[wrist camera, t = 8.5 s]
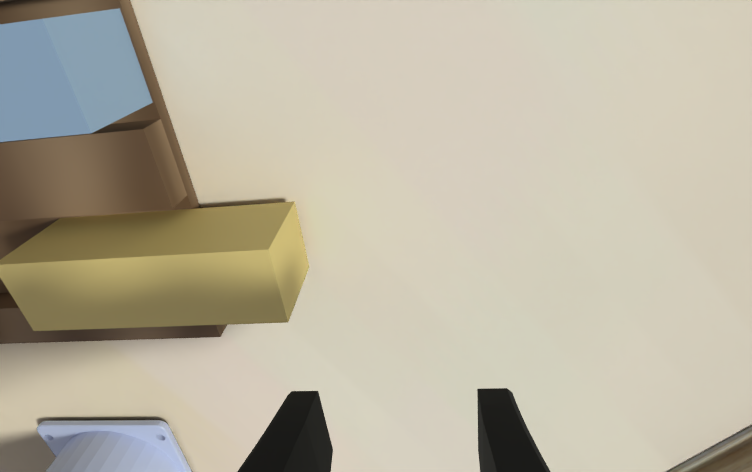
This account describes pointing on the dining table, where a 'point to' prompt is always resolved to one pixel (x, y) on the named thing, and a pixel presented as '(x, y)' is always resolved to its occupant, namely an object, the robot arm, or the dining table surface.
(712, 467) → the toy food set
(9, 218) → the comb board
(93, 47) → the stick blue
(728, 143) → the dining table surface
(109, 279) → the stick ochre
